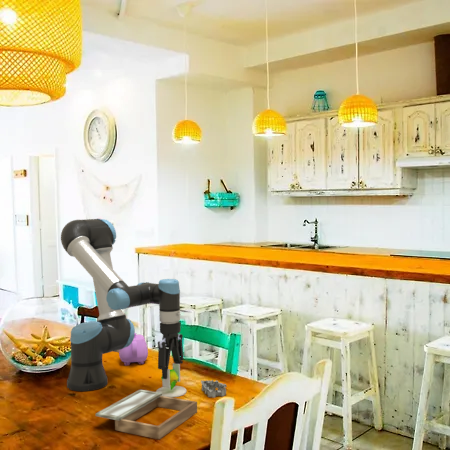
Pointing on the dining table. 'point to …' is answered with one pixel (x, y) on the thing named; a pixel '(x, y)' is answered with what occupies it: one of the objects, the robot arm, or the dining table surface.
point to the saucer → (172, 391)
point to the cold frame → (142, 404)
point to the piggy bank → (135, 351)
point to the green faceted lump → (173, 378)
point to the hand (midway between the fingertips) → (171, 383)
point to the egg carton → (213, 388)
